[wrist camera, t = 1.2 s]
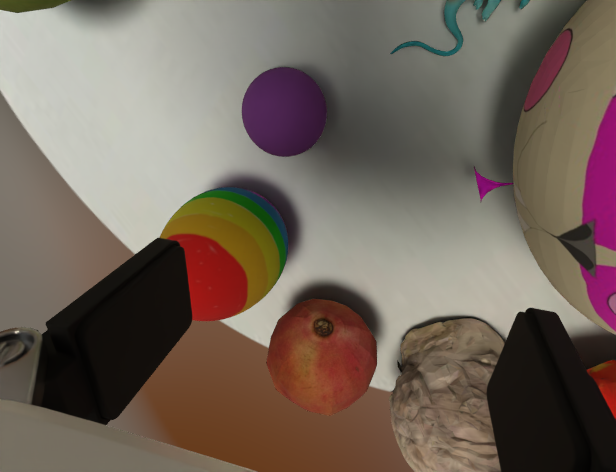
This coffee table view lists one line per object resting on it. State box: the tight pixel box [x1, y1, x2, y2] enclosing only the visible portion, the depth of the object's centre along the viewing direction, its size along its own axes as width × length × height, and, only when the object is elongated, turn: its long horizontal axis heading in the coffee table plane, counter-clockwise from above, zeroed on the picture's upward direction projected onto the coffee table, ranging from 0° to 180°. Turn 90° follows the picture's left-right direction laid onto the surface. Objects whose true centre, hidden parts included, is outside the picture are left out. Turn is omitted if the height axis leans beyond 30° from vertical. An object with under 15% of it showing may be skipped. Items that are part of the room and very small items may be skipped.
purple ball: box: [242, 67, 327, 157], centre depth 22 cm, size 5×5×5 cm
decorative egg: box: [160, 187, 288, 321], centre depth 24 cm, size 8×8×10 cm
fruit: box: [266, 299, 377, 416], centre depth 28 cm, size 8×8×10 cm
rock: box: [389, 318, 505, 472], centre depth 27 cm, size 15×12×10 cm
